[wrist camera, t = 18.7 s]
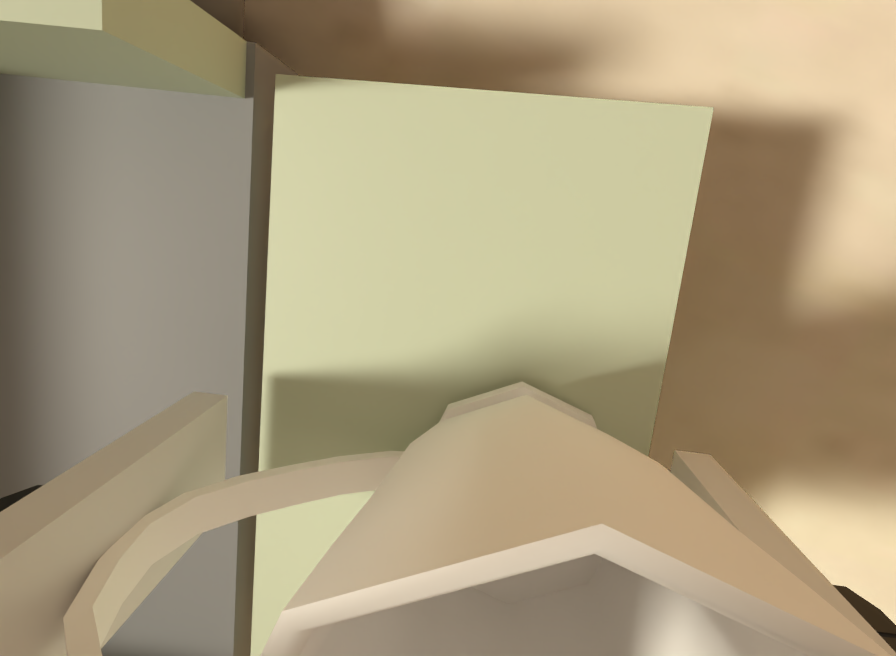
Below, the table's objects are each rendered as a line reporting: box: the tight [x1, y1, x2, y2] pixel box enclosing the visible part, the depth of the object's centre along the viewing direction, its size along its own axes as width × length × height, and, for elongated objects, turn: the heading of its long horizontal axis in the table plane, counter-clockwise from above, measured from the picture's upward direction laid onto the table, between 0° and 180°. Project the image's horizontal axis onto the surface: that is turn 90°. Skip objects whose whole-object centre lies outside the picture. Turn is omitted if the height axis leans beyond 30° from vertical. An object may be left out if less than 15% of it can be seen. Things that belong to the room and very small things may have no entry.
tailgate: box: [250, 74, 714, 656], centre depth 14 cm, size 17×1×9 cm
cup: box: [63, 382, 891, 656], centre depth 9 cm, size 7×10×8 cm
